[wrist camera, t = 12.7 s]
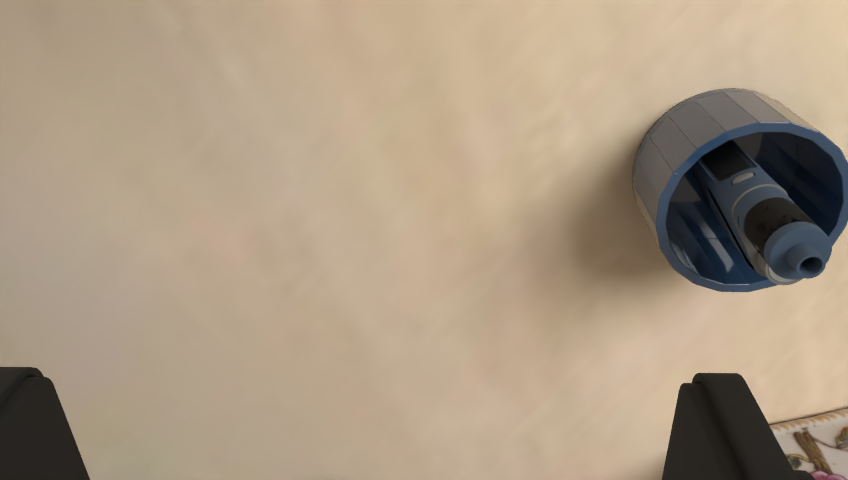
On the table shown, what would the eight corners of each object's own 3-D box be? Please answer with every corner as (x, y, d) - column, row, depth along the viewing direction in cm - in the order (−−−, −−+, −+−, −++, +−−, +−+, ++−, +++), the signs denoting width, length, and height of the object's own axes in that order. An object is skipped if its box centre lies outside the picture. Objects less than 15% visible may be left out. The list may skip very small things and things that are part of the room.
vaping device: (726, 120, 35) (837, 225, 25) (758, 200, 37) (873, 329, 27) (678, 143, 36) (766, 255, 25) (711, 221, 38) (806, 354, 27)
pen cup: (643, 87, 35) (672, 121, 30) (821, 88, 35) (879, 122, 30) (622, 240, 40) (644, 290, 35) (780, 242, 39) (825, 293, 34)
